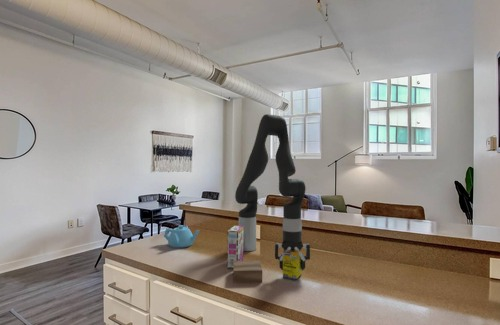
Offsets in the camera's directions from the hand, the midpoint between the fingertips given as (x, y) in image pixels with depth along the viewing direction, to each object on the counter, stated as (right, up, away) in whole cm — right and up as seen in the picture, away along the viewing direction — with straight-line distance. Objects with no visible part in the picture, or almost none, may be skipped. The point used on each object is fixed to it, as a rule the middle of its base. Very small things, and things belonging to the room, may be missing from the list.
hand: (292, 269), depth 117 cm
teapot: (-55, -3, +45) cm, 71 cm away
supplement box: (0, -3, 0) cm, 3 cm away
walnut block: (-18, -3, 0) cm, 18 cm away
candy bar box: (-23, -3, +14) cm, 27 cm away
